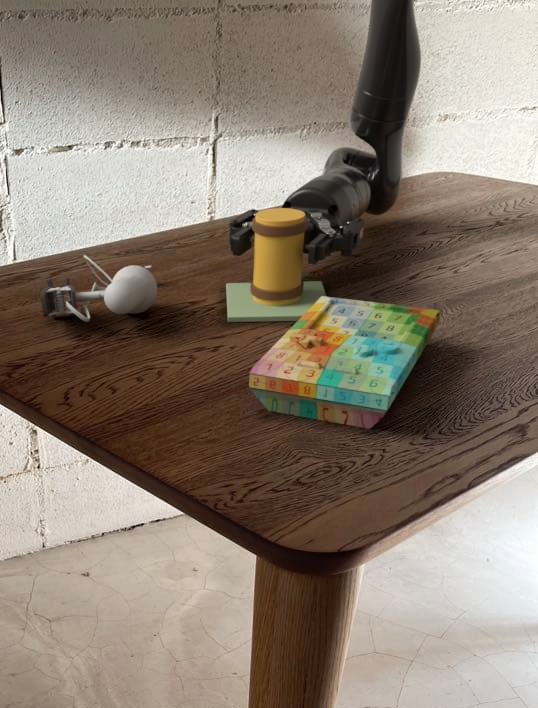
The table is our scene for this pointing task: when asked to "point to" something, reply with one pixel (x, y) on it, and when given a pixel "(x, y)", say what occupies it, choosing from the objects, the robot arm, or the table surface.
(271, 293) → the stacking piece
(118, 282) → the clip-on lamp
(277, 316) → the green mat
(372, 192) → the robot arm
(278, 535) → the table surface
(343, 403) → the puzzle game
